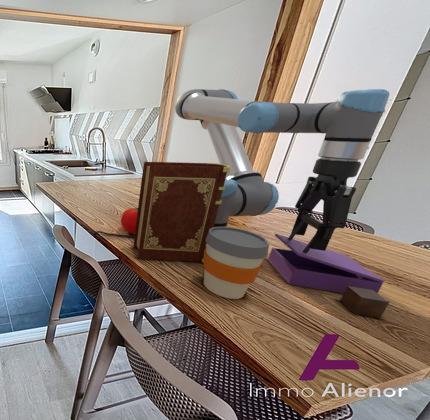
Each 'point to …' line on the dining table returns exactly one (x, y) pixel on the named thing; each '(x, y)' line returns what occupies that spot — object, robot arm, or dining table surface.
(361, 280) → the purple box base
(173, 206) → the decorative book
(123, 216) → the tomato
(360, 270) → the purple hinged lid
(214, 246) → the reusable coffee cup
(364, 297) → the block
